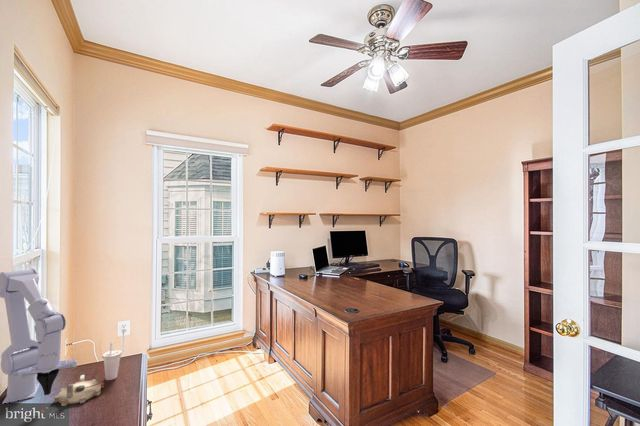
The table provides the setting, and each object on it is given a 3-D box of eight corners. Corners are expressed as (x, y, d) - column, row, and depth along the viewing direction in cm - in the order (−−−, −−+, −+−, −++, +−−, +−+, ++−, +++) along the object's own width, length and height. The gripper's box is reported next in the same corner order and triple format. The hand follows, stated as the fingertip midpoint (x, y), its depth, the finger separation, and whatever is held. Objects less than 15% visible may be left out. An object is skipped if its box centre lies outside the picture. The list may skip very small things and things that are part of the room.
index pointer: (80, 381, 117) (80, 375, 117) (84, 380, 117) (84, 374, 118) (79, 385, 114) (80, 378, 114) (83, 384, 115) (84, 378, 115)
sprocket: (76, 382, 115) (77, 368, 116) (112, 383, 115) (113, 369, 115) (43, 404, 102) (43, 388, 102) (83, 406, 101) (84, 389, 102)
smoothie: (100, 377, 120) (101, 341, 121) (119, 371, 125) (120, 337, 125) (102, 383, 116) (104, 347, 116) (122, 378, 120) (123, 342, 120)
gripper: (15, 362, 94) (14, 406, 93) (75, 351, 102) (74, 392, 102) (21, 353, 100) (19, 395, 99) (77, 344, 108) (76, 382, 107)
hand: (47, 393), depth 101 cm, fingers closed
